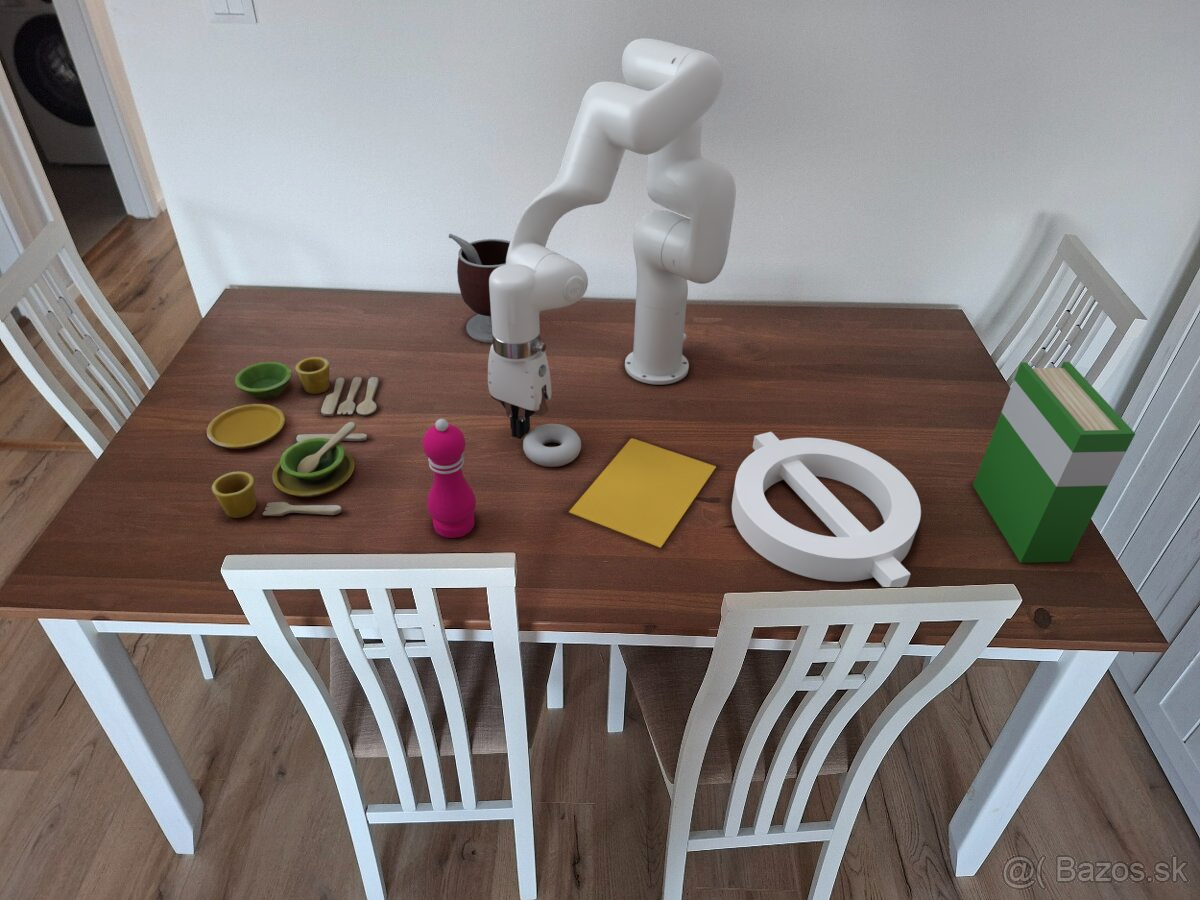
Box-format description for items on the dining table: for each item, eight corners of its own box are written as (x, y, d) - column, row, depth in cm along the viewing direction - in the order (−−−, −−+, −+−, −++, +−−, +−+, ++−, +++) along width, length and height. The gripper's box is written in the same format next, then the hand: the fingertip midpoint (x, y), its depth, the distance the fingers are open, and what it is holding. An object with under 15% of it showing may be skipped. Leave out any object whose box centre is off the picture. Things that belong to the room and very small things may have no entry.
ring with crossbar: (754, 444, 145) (757, 422, 142) (920, 484, 137) (927, 462, 134) (711, 550, 124) (714, 526, 122) (903, 604, 117) (912, 580, 114)
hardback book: (972, 485, 137) (1020, 362, 122) (1016, 484, 138) (1069, 361, 123) (1020, 562, 124) (1081, 434, 109) (1068, 561, 124) (1135, 433, 109)
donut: (566, 478, 138) (590, 443, 145) (566, 462, 135) (590, 427, 142) (513, 462, 141) (539, 429, 148) (511, 446, 138) (538, 413, 145)
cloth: (631, 438, 146) (631, 437, 146) (716, 467, 140) (716, 466, 140) (568, 512, 130) (568, 511, 130) (660, 548, 125) (660, 547, 124)
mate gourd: (536, 316, 179) (534, 228, 167) (517, 348, 169) (512, 257, 156) (468, 307, 182) (461, 220, 169) (445, 338, 171) (435, 248, 159)
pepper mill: (469, 544, 125) (457, 438, 112) (423, 536, 126) (406, 431, 113) (484, 512, 130) (474, 408, 118) (440, 505, 131) (425, 401, 119)
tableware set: (342, 522, 128) (335, 491, 124) (159, 524, 127) (145, 493, 123) (387, 375, 160) (382, 347, 156) (241, 376, 159) (232, 348, 155)
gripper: (568, 344, 132) (568, 436, 143) (491, 320, 138) (497, 410, 149) (543, 365, 127) (545, 459, 138) (464, 339, 132) (472, 432, 144)
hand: (520, 433), depth 143 cm, fingers closed
